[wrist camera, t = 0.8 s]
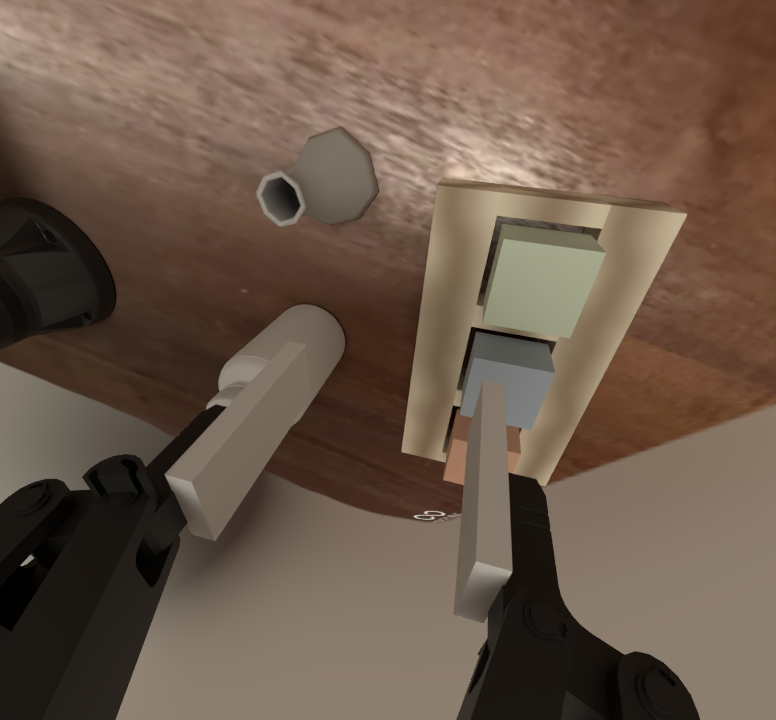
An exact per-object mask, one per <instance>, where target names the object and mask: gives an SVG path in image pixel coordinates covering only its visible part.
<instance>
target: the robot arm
mask: <svg viewBox="0 0 776 720" xmlns="http://www.w3.org/2000/svg"><path fill="white" fill-rule="evenodd" d="M114 303H115V291H114V285H113V282H112V279H111V276H110V273H109V271H108V269H107V267H106V265H105V263H104V261H103V259H102V258H101V256H100V254H99V253H98V251H97V250H96V249H95V247H94V246H93V245H92V243H91V242H90V241H89V240H88V238H87V237H86V236H85V235H84V234H83V233H82V232H81V231H80V230H79V229H78V228H77V227H76V226H75V225H74V224H73V223H72V222H70V221H69V220H68V219H67V218H66V217H64V216H63V215H62V214H60V213H59V212H57V211H56V210H54V209H53V208H51V207H49V206H47V205H45V204H43V203H41V202H38V201H35V200H32V199H28V198H12V199H6V200H0V350H2V349H4V348H6V347H8V346H10V345H12V344H14V343H16V342H19V341H21V340H23V339H25V338H27V337H30V336H35V335H41V334H47V333H53V332H59V331H65V330H71V329H77V328H83V327H86V326H89V325H92V324H94V323H96V322H98V321H100V320H102V319H104V318H105V317H107V316H108V315H109V314H110V313H111V311H112V310H113V307H114ZM309 399H310V386H309V372H308V359H307V346H306V344H300V343H295V342H290V341H288V342H287V343H286V344H285V345H284V347H283V348H282V349H281V350H280V351H279V352H278V353H277V354H276V355H275V356H274V357H273V358H272V359H271V361H270V362H269V363H268V364H267V365H266V366H265V367H264V368H263V369H262V370H261V371H260V372H259V373H258V374H257V376H256V377H255V378H254V379H253V380H252V381H251V382H250V383H249V384H248V385H247V386H246V387H245V388H244V390H243V391H242V392H241V393H240V394H239V395H238V396H237V397H236V398H235V399H234V400H233V401H232V402H231V403H230V405H229V406H228V407H226V406H221V405H217V404H215V405H214V406H212V407H210V408H208V409H207V410H205V411H203V412H201V413H200V414H199V415H198V416H197V417H196V418H195V419H194V420H193V421H192V422H191V423H190V424H189V426H188V427H186V428H185V429H184V430H183V431H182V432H181V433H180V435H179V436H177V437H176V438H175V439H174V440H173V441H172V442H171V443H170V444H169V445H168V446H167V447H166V448H165V449H164V450H163V451H162V452H161V453H160V454H159V455H158V456H157V457H156V458H155V459H154V460H153V461H152V462H151V463H150V464H149V465H148V466H147V467H146V468H145V466H144V464H143V462H142V460H141V459H140V458H138V457H137V456H135V455H128V454H124V455H118V456H113V457H111V458H108V459H106V460H103V461H101V462H99V463H98V464H96V465H95V466H93V467H92V468H90V469H89V470H88V471H87V472H86V473H85V474H84V476H83V477H82V478H83V479H84V480H85V482H86V484H87V485H88V487H89V488H90V490H76V491H70V490H69V488H68V487H67V486H66V484H65V483H64V482H63V481H60V480H58V479H44V480H41V481H37V482H33V483H31V484H29V485H27V486H25V487H23V488H21V489H19V490H18V491H16V492H15V493H13V494H12V495H11V496H9V497H8V498H7V499H6V500H4V501H3V502H2V503H1V504H0V720H116V717H117V714H118V711H119V709H120V706H121V703H122V701H123V698H124V695H125V692H126V690H127V687H128V684H129V682H130V679H131V676H132V673H133V671H134V668H135V665H136V662H137V660H138V657H139V654H140V652H141V649H142V646H143V644H144V641H145V638H146V635H147V633H148V630H149V627H150V625H151V622H152V619H153V617H154V614H155V611H156V608H157V605H158V603H159V600H160V598H161V595H162V592H163V590H164V587H165V584H166V581H167V579H168V576H169V573H170V570H171V568H172V565H173V562H174V560H175V557H176V554H177V552H178V549H179V545H180V537H179V533H180V531H181V530H182V529H183V528H184V526H185V525H186V524H187V525H188V527H189V529H190V531H191V533H192V534H193V535H196V536H200V537H203V538H206V539H209V540H213V541H216V539H217V538H218V536H219V535H220V533H221V532H222V530H223V529H224V527H225V526H226V524H227V523H228V521H229V520H230V518H231V517H232V515H233V513H234V512H235V510H236V509H237V508H238V506H239V504H240V503H241V501H242V500H243V498H244V497H245V495H246V494H247V492H248V491H249V489H250V488H251V486H252V485H253V483H254V482H255V480H256V479H257V477H258V476H259V474H260V473H261V471H262V470H263V468H264V467H265V465H266V464H267V462H268V461H269V459H270V458H271V456H272V455H273V453H274V452H275V450H276V449H277V447H278V446H279V444H280V443H281V441H282V440H283V438H284V437H285V435H286V434H287V432H288V431H289V429H290V427H291V426H292V424H293V423H294V421H295V420H296V418H297V417H298V415H299V414H300V412H301V411H302V409H303V408H304V406H305V405H306V403H307V402H308V400H309ZM30 554H31V555H32V556H33V557H34V559H33V560H32V561H30V562H29V563H28V564H27V565H24V566H20V565H21V564H22V563H23V562H24V561H25V560H26V559H27V557H28V556H29V555H30ZM454 614H455V615H458V616H462V617H465V618H468V619H472V620H475V621H478V622H481V623H484V622H485V620H486V618H487V616H488V638H487V640H486V642H485V643H484V644H483V646H482V648H481V649H480V651H479V653H478V655H479V659H478V662H477V665H476V668H475V670H474V673H473V676H472V678H471V681H470V684H469V687H468V689H467V692H466V695H465V698H464V700H463V703H462V706H461V709H460V712H459V714H458V717H457V720H700V718H699V715H698V712H697V709H696V707H695V705H694V702H693V700H692V697H691V695H690V693H689V692H688V690H687V689H686V687H685V686H684V684H683V683H682V682H681V680H680V679H679V677H678V676H677V675H676V674H675V673H674V672H673V671H671V669H669V668H668V667H667V666H666V665H665V664H664V663H663V662H661V661H660V660H658V659H656V658H654V657H653V656H651V655H649V654H645V653H641V652H636V651H635V652H632V653H629V654H626V655H624V654H622V653H621V652H619V651H618V650H616V649H614V648H613V647H611V646H610V645H608V644H607V643H605V642H604V641H602V640H601V639H599V638H597V637H596V636H594V635H593V634H591V633H590V632H589V631H588V630H586V629H585V628H584V627H582V626H581V625H580V624H579V623H578V622H577V621H576V619H575V618H574V617H573V616H572V615H571V613H570V612H569V610H568V609H567V607H566V606H565V604H564V601H563V599H562V597H561V594H560V590H559V586H558V579H557V572H556V565H555V559H554V550H553V544H552V537H551V532H550V522H549V517H548V508H547V501H546V496H545V494H544V492H543V490H542V488H541V486H540V485H539V483H538V481H537V479H534V478H530V477H526V476H521V475H517V474H513V473H509V472H508V453H507V430H506V407H505V384H503V383H498V382H492V381H487V380H483V382H482V385H481V389H480V392H479V396H478V400H477V403H476V407H475V410H474V414H473V417H472V421H471V424H470V428H469V432H468V441H467V454H466V466H465V479H464V491H463V504H462V516H461V529H460V541H459V554H458V566H457V579H456V591H455V604H454Z"/></svg>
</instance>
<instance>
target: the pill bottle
mask: <svg viewBox="0 0 776 720" xmlns="http://www.w3.org/2000/svg"><path fill="white" fill-rule="evenodd" d="M288 341H290V342H295V343H300V344H306V346H307V359H308V372H309V386H310V399H309V400H308V402H307V403H306V405H305V406H304V408H303V409H302V411H301V412H300V414H299V415H298V417H297V418H296V420H295V421H294V423H293V424H292V425H294V424H295V423H296V422H298V420H299V419H300V418H301V417H302V415H303V414H304V412H305V411H306V409H307V408H308V406H309V405H310V403H311V402H312V401H313V399H314V398H315V396H316V395H317V393H318V392H319V390H320V389H321V387H322V386H323V384H324V383H325V381H326V380H327V378H328V377H329V375H330V374H331V372H332V371H333V369H334V368H335V366H336V365H337V363H338V362H339V360H340V359H341V357H342V355H343V352H344V349H345V336H344V333H343V330H342V328H341V326H340V324H339V323H338V321H337V320H336V319H335V318H334V317H333V316H332V315H331V314H330V313H328V312H327V311H326V310H324V309H322V308H320V307H317V306H314V305H308V304H301V305H296V306H293V307H291V308H289V309H288V310H286V311H285V312H284V313H282V314H281V315H280V316H279V317H278V318H277V319H276V320H274V321H273V322H272V323H271V324H270V325H269V326H268V327H266V328H265V329H264V330H263V331H262V332H261V333H260V334H258V335H257V336H256V337H255V338H254V339H253V340H252V341H250V342H249V343H248V344H247V345H246V346H245V347H244V348H242V349H241V350H240V351H239V352H238V353H237V354H236V355H234V356H233V357H232V358H231V359H230V360H229V361H228V362H227V363H226V364H225V365H224V367H223V369H222V371H221V373H220V376H219V393H218V394H217V395H216V396H214V397H213V398H212V399H211V400H210V401H209V403H208V404H207V407H206V410H207V409H208V408H210V407H212V406H214V405H215V404H217V405H221V406H226V407H228V406H229V405H230V403H231V402H232V401H233V400H234V399H235V398H236V397H237V396H238V395H239V394H240V393H241V392H242V391H243V390H244V388H245V387H246V386H247V385H248V384H249V383H250V382H251V381H252V380H253V379H254V378H255V377H256V376H257V374H258V373H259V372H260V371H261V370H262V369H263V368H264V367H265V366H266V365H267V364H268V363H269V362H270V361H271V359H272V358H273V357H274V356H275V355H276V354H277V353H278V352H279V351H280V350H281V349H282V348H283V347H284V345H285V344H286V343H287V342H288Z"/></svg>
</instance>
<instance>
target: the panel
mask: <svg viewBox="0 0 776 720" xmlns="http://www.w3.org/2000/svg"><path fill="white" fill-rule="evenodd" d="M497 216H503V217H511V218H519V219H527V220H535V221H543V222H551V223H559V224H567V225H575V226H583V227H585V229H584V232H583V234H590V235H592V237H593V238H594V239H595V240H596V241H597V242H598V244H599V245H600V246H601V247H602V248H603V249H604V251H605V252H606V255H605V257H604V260H603V262H602V264H601V267H600V269H599V271H598V274H597V276H596V278H595V281H594V283H593V286H592V288H591V290H590V293H589V295H588V297H587V300H586V302H585V304H584V307H583V309H582V312H581V314H580V316H579V319H578V321H577V323H576V326H575V328H574V330H573V333H572V335H571V337H570V339H569V338H564V337H558V336H552V335H546V334H541V333H535V332H529V331H523V330H518V329H512V328H506V327H500V326H495V325H489V324H483V304H484V297H485V293H486V288H481V282H482V278H483V274H484V269H485V265H486V261H487V257H488V252H489V248H490V244H491V239H492V235H493V231H494V226H495V222H496V218H497ZM686 216H687V213H685V212H683V211H680V210H678V209H676V208H674V207H672V206H670V205H668V204H666V203H664V202H656V201H647V200H638V199H629V198H620V197H611V196H602V195H593V194H584V193H575V192H566V191H557V190H548V189H539V188H530V187H521V186H512V185H503V184H494V183H485V182H476V181H467V180H458V179H449V178H443V179H442V180H441V181H440V183H439V184H438V185H437V190H436V198H435V205H434V212H433V220H432V227H431V235H430V242H429V250H428V257H427V264H426V272H425V279H424V287H423V294H422V302H421V309H420V317H419V324H418V331H417V339H416V346H415V354H414V361H413V369H412V376H411V383H410V391H409V398H408V406H407V413H406V421H405V428H404V435H403V443H402V450H401V452H404V453H408V454H412V455H416V456H421V457H425V458H429V459H433V460H437V461H442V462H446V456H447V449H448V445H449V440H450V436H451V432H452V428H448V424H449V420H450V416H451V411H452V407H453V405H454V406H459V407H460V406H461V397H462V389H463V383H464V379H465V375H466V371H467V368H464V367H462V364H463V360H464V356H465V351H466V347H467V343H468V338H469V334H470V330H471V327H477V328H482V329H488V330H494V331H499V332H505V333H511V334H516V335H522V336H528V337H533V338H539V339H543V341H542V343H543V344H548V345H549V349H550V353H551V357H552V361H553V366H554V370H555V375H554V378H553V380H552V382H551V385H550V387H549V389H548V392H547V394H546V396H545V399H544V401H543V404H542V406H541V408H540V411H539V413H538V415H537V418H536V420H535V422H534V425H533V427H532V429H531V430H528V429H523V428H519V436H520V448H521V455H520V458H519V460H518V462H517V465H516V467H515V470H514V472H513V474H517V475H521V476H526V477H530V478H534V479H537V481H538V483H539V485H542V486H546V484H547V482H548V480H549V478H550V476H551V474H552V473H553V471H554V469H555V467H556V465H557V463H558V461H559V459H560V457H561V455H562V453H563V451H564V450H565V448H566V446H567V444H568V442H569V440H570V438H571V436H572V434H573V432H574V430H575V429H576V427H577V425H578V423H579V421H580V419H581V417H582V415H583V413H584V411H585V409H586V408H587V406H588V404H589V402H590V400H591V398H592V396H593V394H594V392H595V390H596V388H597V386H598V385H599V383H600V381H601V379H602V377H603V375H604V373H605V371H606V369H607V367H608V365H609V364H610V362H611V360H612V358H613V356H614V354H615V352H616V350H617V348H618V346H619V344H620V343H621V341H622V339H623V337H624V335H625V333H626V331H627V329H628V327H629V325H630V323H631V321H632V320H633V318H634V316H635V314H636V312H637V310H638V308H639V306H640V304H641V302H642V300H643V299H644V297H645V295H646V293H647V291H648V289H649V287H650V285H651V283H652V281H653V279H654V278H655V276H656V274H657V272H658V270H659V268H660V266H661V264H662V262H663V260H664V258H665V256H666V255H667V253H668V251H669V249H670V247H671V245H672V243H673V241H674V239H675V237H676V235H677V234H678V232H679V230H680V228H681V226H682V224H683V222H684V220H685V218H686Z"/></svg>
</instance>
